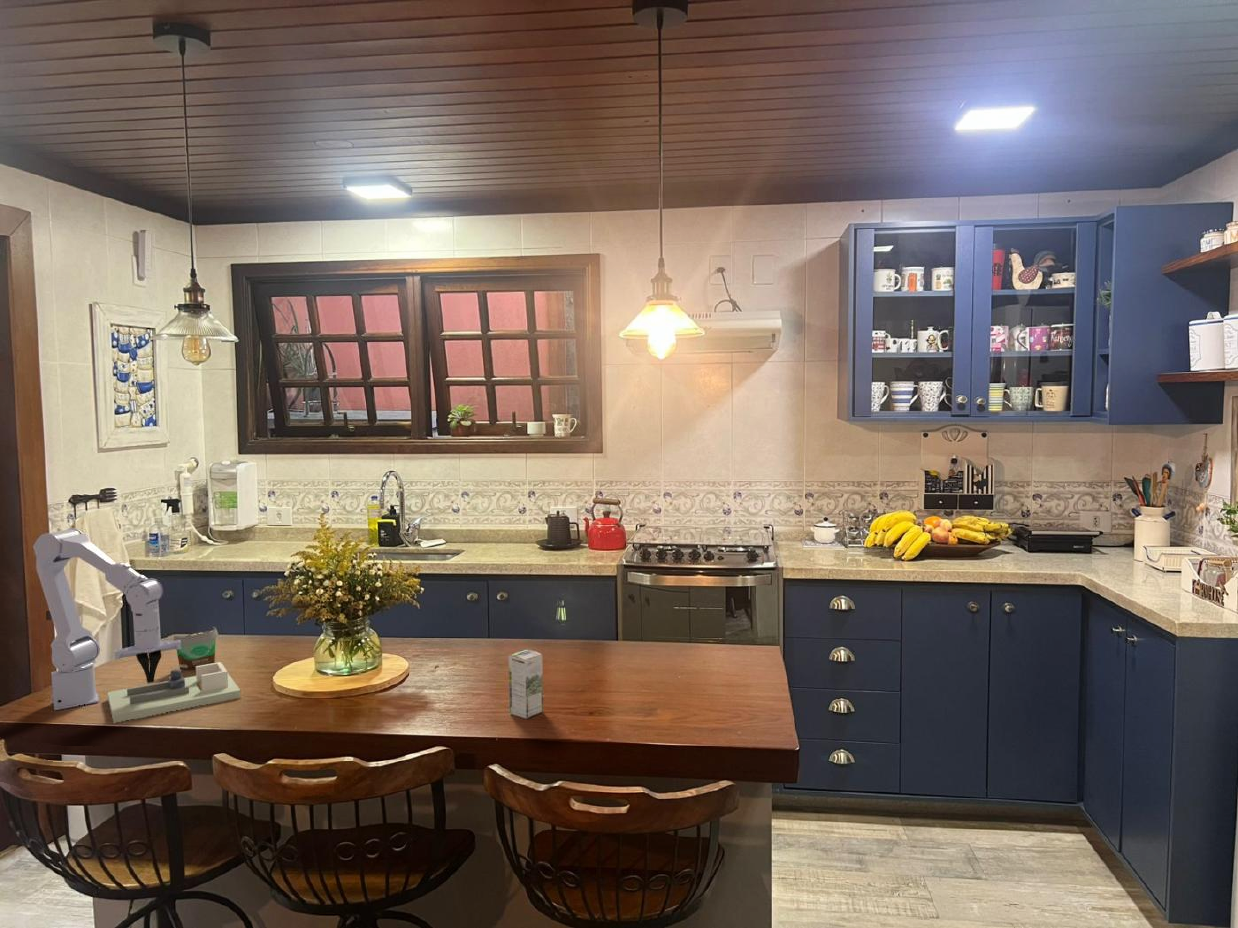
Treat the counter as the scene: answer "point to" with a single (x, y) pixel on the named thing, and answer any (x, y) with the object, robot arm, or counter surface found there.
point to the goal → (212, 676)
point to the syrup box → (526, 683)
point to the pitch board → (165, 698)
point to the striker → (176, 679)
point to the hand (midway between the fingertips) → (150, 681)
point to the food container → (196, 649)
